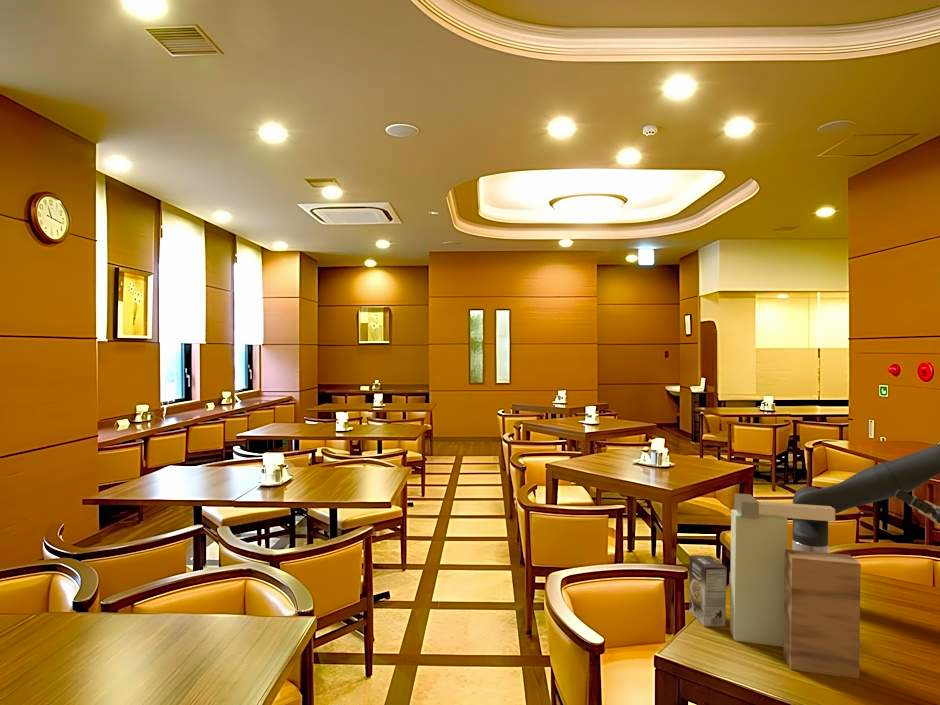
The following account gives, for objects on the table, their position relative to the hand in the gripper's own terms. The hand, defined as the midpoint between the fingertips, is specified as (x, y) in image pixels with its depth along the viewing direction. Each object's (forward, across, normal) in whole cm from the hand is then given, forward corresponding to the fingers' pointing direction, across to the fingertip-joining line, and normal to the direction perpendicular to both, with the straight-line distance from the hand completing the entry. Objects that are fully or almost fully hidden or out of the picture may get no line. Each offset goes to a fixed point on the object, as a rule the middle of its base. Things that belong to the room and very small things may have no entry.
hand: (904, 496), depth 138 cm
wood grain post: (0, +11, +44) cm, 46 cm away
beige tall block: (+10, 0, +50) cm, 51 cm away
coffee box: (+20, -8, +55) cm, 59 cm away
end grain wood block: (+20, 0, +19) cm, 27 cm away
